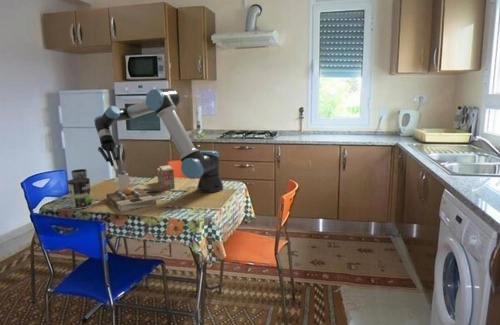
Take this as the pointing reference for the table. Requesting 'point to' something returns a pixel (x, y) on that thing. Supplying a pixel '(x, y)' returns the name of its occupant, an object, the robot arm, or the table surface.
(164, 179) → the printed cardboard box
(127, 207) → the wooden tray
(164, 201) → the table surface
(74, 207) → the coffee can
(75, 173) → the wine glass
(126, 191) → the ball
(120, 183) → the pale grey bottle
